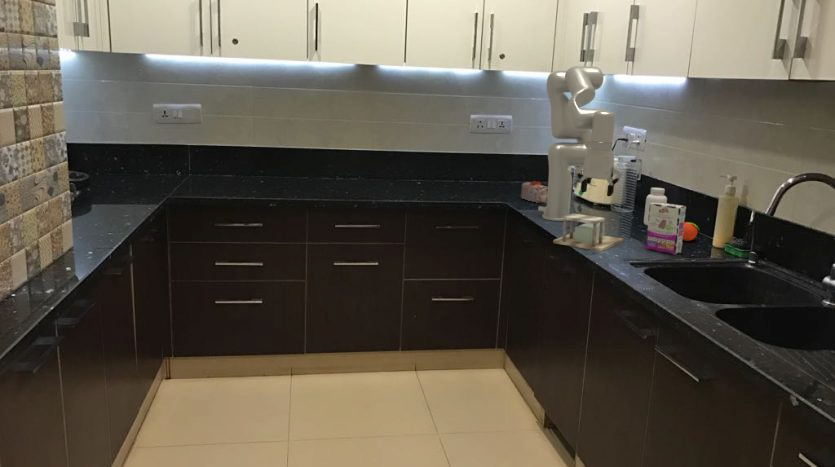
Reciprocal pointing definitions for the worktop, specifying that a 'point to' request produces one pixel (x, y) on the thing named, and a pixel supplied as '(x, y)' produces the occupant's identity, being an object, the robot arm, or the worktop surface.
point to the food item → (534, 192)
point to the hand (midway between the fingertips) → (596, 193)
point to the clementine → (689, 231)
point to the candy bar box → (665, 228)
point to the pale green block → (586, 233)
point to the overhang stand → (596, 244)
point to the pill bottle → (654, 200)
